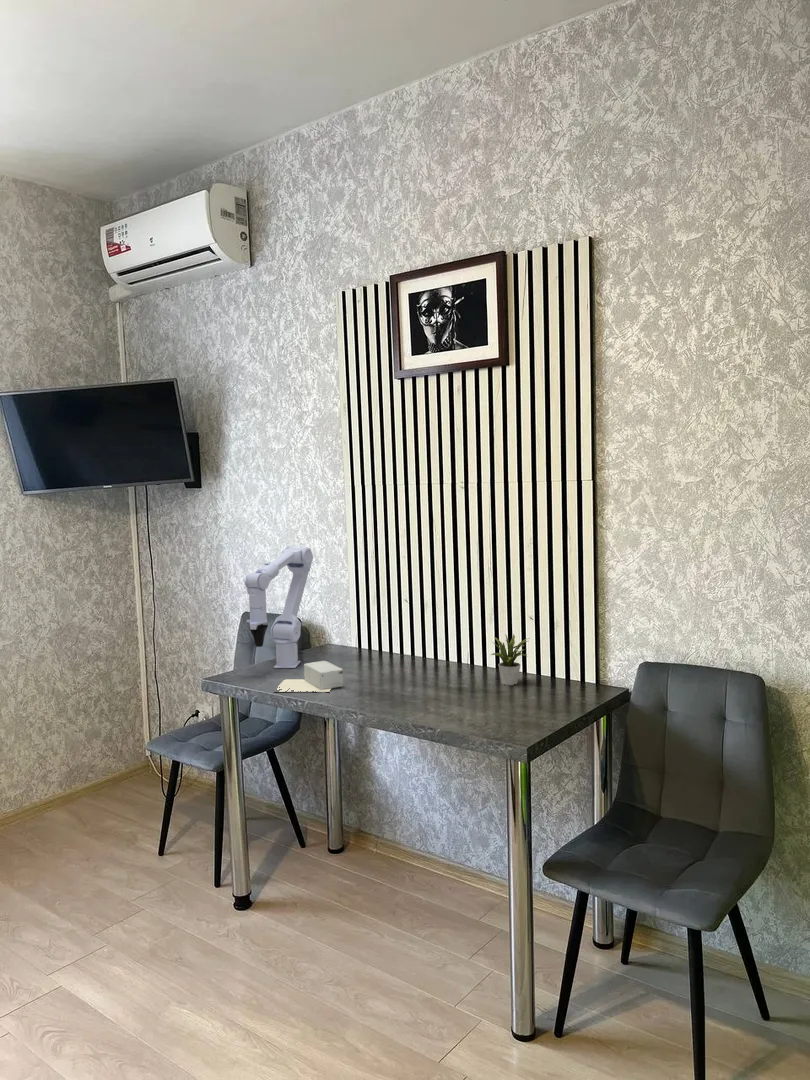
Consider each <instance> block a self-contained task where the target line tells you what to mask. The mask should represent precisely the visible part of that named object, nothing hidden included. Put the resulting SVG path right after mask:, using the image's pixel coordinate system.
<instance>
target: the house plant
mask: <svg viewBox="0 0 810 1080" xmlns="http://www.w3.org/2000/svg"><path fill="white" fill-rule="evenodd" d="M504 635H505V638H506V639H505V642H506V644H505V643H504V642H502V641H500V640H499V639H498V638H497V637H495V636H494V639H495V640H496V642H497V644H496V643H495V642H494V641H492V643H493V645H495V646H496V647H497V649H498V650H499V652H496V653H495V652H493V653H491V654H490V656H497V657H499V658H500V659H501V661H502V662H500V663H498V670H499V676H500V682H501V684H502V685H504V684H505V685H504V686H515V685H514V684H516V685H517V683H519V676H520V670H521V663H519V662H517V661H516V660H517V658H518V657H520V656H521V657H523V656H525V657H527V654H526V653H525V654H524V652H523V651H526V648H525V649H524V648H523V649H521V650H519V649H520V648H521V647H522V646H524V644H525V643H527V642H528V640H529V639H530V637H529V638H525V639H523V640H521V641H520V642H519V643H518V644H517V645H515V643H516V642H515V638H516V637H515V634H514V633H513V635H512V636H511V637H512V638H511V639H510V640H509V639H508V635H507V634H506V633H505V634H504ZM505 645H507V648H506V646H505ZM522 652H523V653H522ZM521 657H520V658H518V660H519V659H521Z"/></svg>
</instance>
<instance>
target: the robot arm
mask: <svg viewBox="0 0 810 1080" xmlns="http://www.w3.org/2000/svg"><path fill="white" fill-rule="evenodd" d="M313 555H314V554H313V551H312V550H311V548H310V547H299V546H295V547H291V546H286V547H285V548H284V549H282V551H281V554H280V555H279V556H278V557H277V558H276V559H274V560H273V562H271V561H266V562H264V563H263V564H264V565H262V566H261V567H260V568H258V569H256V571H255V572H250V573H248V574H247V575H246V577H245V581H244V586H245V588H246V590H247V591H246V592H247V594H248V599H249V600H248V601H249V603H248V604H249V605H248V607H249V619H246V623H247V624H249V627H248V628H249V629H248V630H249V631H250V633H251V635H252V637H253V640H254V641H253V642H254V644H255V647H256V648H259V647H263V645H264V642H265V636H266V632H267V629H268V627H269V625H268V624H267V623H268V619H267V615H268V614H267V594H266V593H267V592H266V591H267V589H268V588H269V586H270V583H271V581H273V579H275V578H276V577H277V576H279V573H280V570H281V569H283V568H284V567H287V569H288V570H289V572H291V573H292V579H291V582H290V585H289V589H288V592H287V596H286V599H285V602H284V603H285V604H284V606H283V610H282V614H280V615H278V616H277V617H276V618H275V620H274V622H273V624H272V625H271V628H270V630H269V631H270V637H271V638H272V639H273V642H274V643H275V651H276V652H275V655H276V658H275V659H276V664H275V665H274V666H273V669H296V667H298V665H299V664H300V663H301V660H299V657H298V653H299V652H298V644H297V642H298V640H299V639H300V637H301V630H302V629H301V627H302V622H301V621H300V619H298V617H297V616H298V613H299V610H300V606H301V603H302V598H303V595H304V591H305V588H306V583H307V580H308V576H309V572H311V568H312V563H313V561H314V560H313V559H314V556H313Z"/></svg>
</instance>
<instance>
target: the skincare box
mask: <svg viewBox="0 0 810 1080" xmlns="http://www.w3.org/2000/svg"><path fill="white" fill-rule="evenodd" d="M303 666H304V667H303V670H304V671H303V673H304V679H305V681H307V682H309V683H311V684H313V685H314V686H316V687H318V688H320V689H321V690H322V689H329V688H332V689H334V688H339V687H344V671H343V669H344V668H341V667H339V666H337V665H336V664H333V663H331V662H329V661H327V660H321V661H312V662H308V663H304V664H303Z"/></svg>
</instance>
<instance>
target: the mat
mask: <svg viewBox="0 0 810 1080" xmlns="http://www.w3.org/2000/svg"><path fill="white" fill-rule="evenodd" d="M277 687H278V688H277ZM277 687H276V688H277V690H279V689H282V690H280V691H279V692H285V691H287V690H288V689H289V688H290V689H289V690H288V691H287V692H291V690H294V692H298V691H299V692H300V691H301V692H306V691H308V692H312V691H314V692H315V691H316V692H330V693H331V691H332V690H333V688H329V689H322V690H321V689H320V688H318V687H316V686H314V685H313V684H311V683H309V682H307V681H305V679H302V678H301V679H295V678H294V679H291V678H290V679H289V678H288V679H284V680H282V681H281V683H280V684H279V685H278V686H277ZM279 687H280V688H279ZM331 689H332V690H331ZM330 690H331V691H330Z"/></svg>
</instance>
